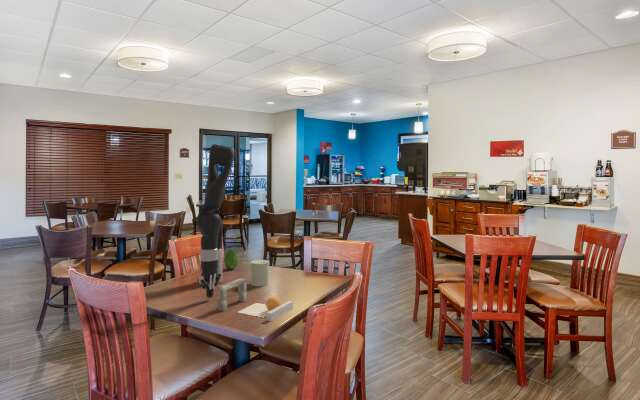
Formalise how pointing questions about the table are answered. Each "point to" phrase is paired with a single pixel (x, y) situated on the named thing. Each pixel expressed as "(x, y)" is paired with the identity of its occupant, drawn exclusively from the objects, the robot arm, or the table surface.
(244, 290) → the bridge
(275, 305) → the ball
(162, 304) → the table surface
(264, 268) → the can
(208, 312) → the table surface
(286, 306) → the wall
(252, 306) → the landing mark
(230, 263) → the avocado
